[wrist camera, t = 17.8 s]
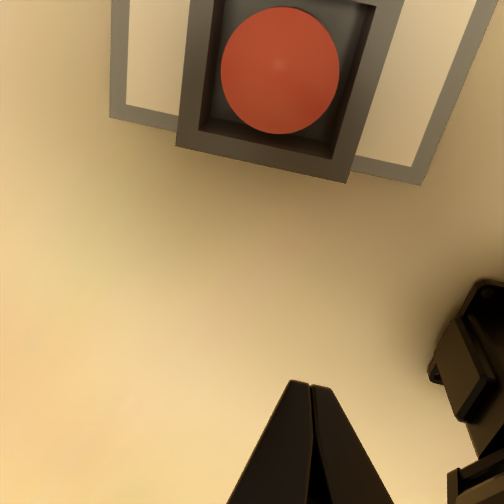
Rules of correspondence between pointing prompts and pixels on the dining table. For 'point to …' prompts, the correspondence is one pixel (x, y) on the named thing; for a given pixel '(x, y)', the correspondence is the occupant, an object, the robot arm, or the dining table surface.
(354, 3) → the button housing
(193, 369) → the dining table surface
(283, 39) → the button
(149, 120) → the colouring board
